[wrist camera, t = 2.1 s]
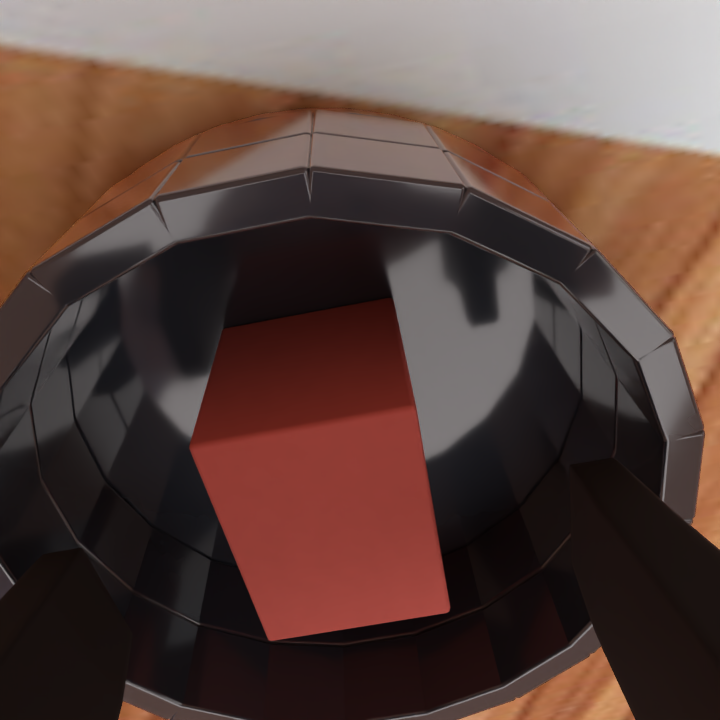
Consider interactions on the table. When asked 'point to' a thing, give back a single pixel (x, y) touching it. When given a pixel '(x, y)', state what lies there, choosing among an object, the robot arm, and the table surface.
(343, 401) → the brick red cuboid
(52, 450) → the pot
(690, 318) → the table surface
